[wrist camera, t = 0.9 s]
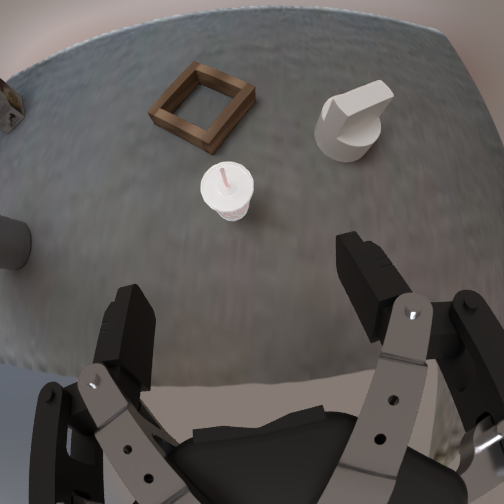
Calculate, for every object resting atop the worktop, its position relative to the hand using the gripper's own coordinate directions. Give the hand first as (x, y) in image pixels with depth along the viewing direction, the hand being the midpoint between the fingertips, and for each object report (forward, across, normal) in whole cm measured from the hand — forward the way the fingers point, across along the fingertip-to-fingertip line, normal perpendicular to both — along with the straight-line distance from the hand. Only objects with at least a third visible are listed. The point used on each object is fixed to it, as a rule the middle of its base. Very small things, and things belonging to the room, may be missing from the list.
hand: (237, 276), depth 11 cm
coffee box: (+54, +46, -15) cm, 72 cm away
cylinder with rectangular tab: (+34, -18, +8) cm, 40 cm away
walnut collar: (+41, +2, 0) cm, 41 cm away
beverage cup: (+29, +1, +13) cm, 32 cm away
